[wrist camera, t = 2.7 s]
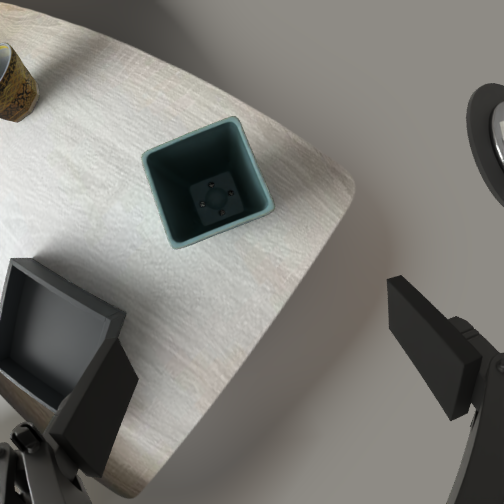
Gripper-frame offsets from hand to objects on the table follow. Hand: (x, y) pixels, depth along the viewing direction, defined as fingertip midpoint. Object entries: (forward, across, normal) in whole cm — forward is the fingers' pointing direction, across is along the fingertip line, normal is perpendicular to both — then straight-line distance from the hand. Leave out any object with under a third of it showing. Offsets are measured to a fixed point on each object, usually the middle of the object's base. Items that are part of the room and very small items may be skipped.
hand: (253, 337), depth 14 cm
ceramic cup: (+27, +29, -25) cm, 47 cm away
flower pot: (+22, +3, -4) cm, 22 cm away
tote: (+16, +26, +7) cm, 32 cm away
